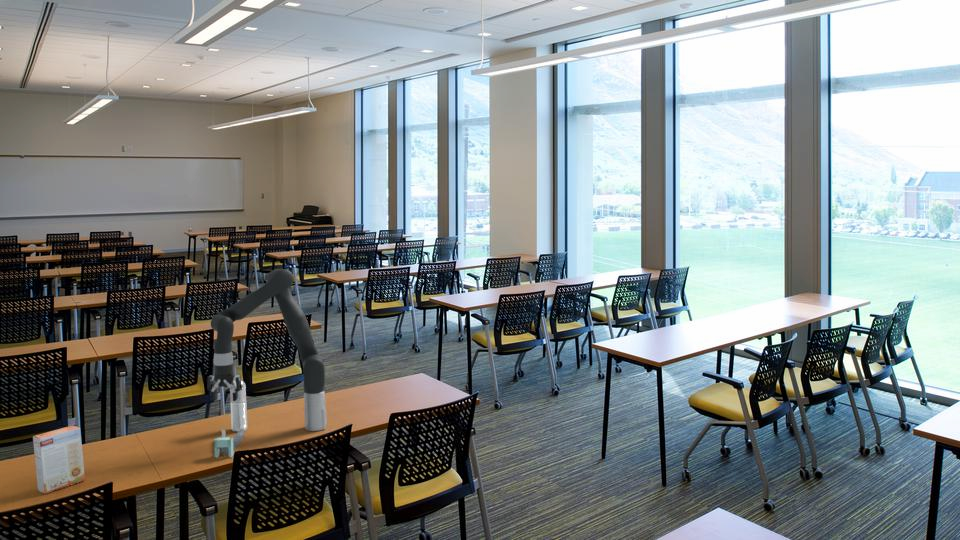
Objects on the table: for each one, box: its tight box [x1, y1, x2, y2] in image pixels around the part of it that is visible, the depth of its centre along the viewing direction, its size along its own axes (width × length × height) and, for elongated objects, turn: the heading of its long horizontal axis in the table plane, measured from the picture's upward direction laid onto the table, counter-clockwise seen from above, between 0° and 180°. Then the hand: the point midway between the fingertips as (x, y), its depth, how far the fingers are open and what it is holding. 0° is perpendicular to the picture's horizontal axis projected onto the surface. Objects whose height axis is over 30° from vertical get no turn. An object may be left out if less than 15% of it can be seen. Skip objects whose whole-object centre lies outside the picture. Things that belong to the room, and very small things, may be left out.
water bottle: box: [229, 374, 248, 433], centre depth 310 cm, size 7×7×25 cm
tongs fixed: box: [220, 429, 245, 456], centre depth 291 cm, size 20×4×4 cm, turn 3°
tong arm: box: [221, 429, 227, 438], centre depth 292 cm, size 16×2×4 cm, turn 21°
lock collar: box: [213, 436, 234, 459], centre depth 279 cm, size 3×7×7 cm, turn 93°
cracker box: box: [32, 425, 86, 494], centre depth 251 cm, size 14×6×21 cm, turn 145°
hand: (225, 400), depth 289 cm, fingers open, 8 cm apart
